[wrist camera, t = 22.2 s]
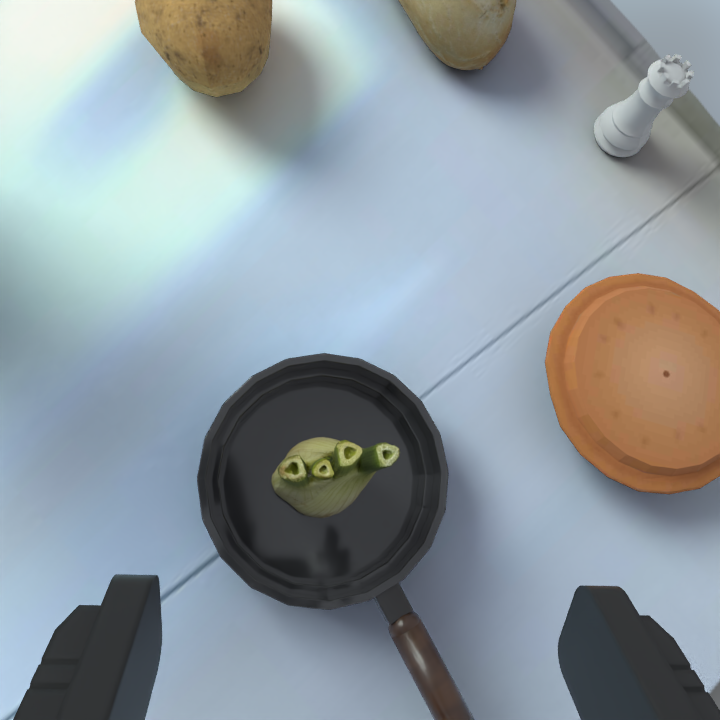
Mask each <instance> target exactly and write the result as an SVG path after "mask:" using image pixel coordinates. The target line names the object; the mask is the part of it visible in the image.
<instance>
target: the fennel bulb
mask: <svg viewBox="0 0 720 720" xmlns="http://www.w3.org/2000/svg"><path fill="white" fill-rule="evenodd" d="M399 454H400V449H399V448H398V447H396V446H395V445H390V444H388V443H387V442H384V443H379V444H376V445H374V446H371V447H368V448H365V449H363V448H361V447H360V446H358V445H356V444H355V443H352V442H349V441H348V440H342V441H339V440H336V439H332V438H326V437H317V438H312V439H308V440H305V441H302V442H300V443H298V444H297V445H296V446H294V447H293V448H292V449H291V450H290V451H289V452H288V453H287V455H286V457H285V459H284V460H283V461H282V462H281V463H280V464H279V466H278V467H277V469H276V470H275V472H274V473H273V475H272V485H273V488H274V491H275V493H276V494H277V495H278V496H280V497H281V498H282V499H283V500H285V501H287V502H288V503H289V504H290V505H292V506H293V507H294V508H295V509H296V510H297V511H298V512H300V513H302V514H304V515H306V516H310V517H316V518H325V517H330V516H332V515H335V514H338V513H340V512H341V511H343V510H344V509H346V508H347V507H348V506H349V505H351V504H352V503H353V502H354V501H355V499H356V498H357V497H358V495H359V494H360V492H361V491H362V490H363V489H364V487H365V486H366V485H367V483H368V482H369V481H370V479H371V478H372V477H373V475H374V474H375V473H376V471H378V470H381V469H384V468H387V467H390V466H392V465H393V464H394V463H395V462H396V461H397V459H398V457H399Z"/></svg>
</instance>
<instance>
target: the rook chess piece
mask: <svg viewBox="0 0 720 720" xmlns="http://www.w3.org/2000/svg"><path fill="white" fill-rule="evenodd" d="M670 58H671V57H670V56H669V55H667V56H665V57H664V58H663V59H662V60H657V61H656V62H654V63H652V64H651V66H650V67H649V69H648V77H646V78H645V79H643V80H642V81H641V82H640V84H639V88H638V90H637V91H636V92H634V93H633V94H632V95H631V96H630V97H629V98H628V99H626V100H623V101H621V102H619V103H615V104H613V105H611V106H610V107H608V108H606V109H605V111H604V112H603V113H602V114H601V115H599V117H598V118H597V120H596V121H595V125H594V135H595V138H596V141H597V143H598V145H599V146H600V147H601V149H602V150H603V151H605V152H606V153H608V154H609V155H613V156H616V157H629V156H632V155H634V154H636V153H638V152H639V151H640V149H641V147H642V146H644V145H645V143H646V142H647V140H648V138H649V137H650V134H651V128H652V124H653V121H654V119H655V118H656V117H657V115H658V114H659V112H660V111H661V110H662V109H663V108H666V107H668V106H670V104H671V103H672V101H673V98H678V97H681V96H683V95H684V94H686V92H687V91H688V89H689V82H690V79H691V78H692V77H693V72H694V71H689V72H688V70H687V69H688V68H689V67H690V66H691V64H690V63H689V62H688V60H687V61H686V62H685V63H684V64H682V63H680V62H679V60H680V59H681V56H680V55H676V54H675V55H674V56H673V57H672V59H670Z"/></svg>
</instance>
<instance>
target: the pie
mask: <svg viewBox="0 0 720 720" xmlns="http://www.w3.org/2000/svg"><path fill="white" fill-rule="evenodd" d="M545 366H546V372H547V378H548V384H549V390H550V395H551V399H552V402H553V405H554V408H555V411H556V415H557V418H558V421H559V424H560V427H561V428H562V430H563V431H564V432H565V434H566V435H567V437H568V438H569V439H570V441H571V442H572V444H573V445H574V446H575V448H576V449H577V451H578V452H579V453H580V455H582V456H583V457H584V458H585V459H586V460H588V461H589V462H590V463H591V464H592V465H594V466H595V467H596V468H597V469H598V470H600V471H601V472H602V473H603V474H604V475H606V476H607V477H608V478H610V479H613V480H615V481H617V482H619V483H621V484H623V485H626V486H628V487H630V488H632V489H634V490H636V491H639V492H650V493H661V494H674V493H679V492H684V491H689V490H695V489H700V488H701V487H703V486H705V485H706V484H708V483H709V482H711V481H713V480H714V479H716V478H717V477H719V476H720V312H719V310H718V309H716V308H715V307H714V306H712V305H711V304H710V303H708V302H707V301H706V300H704V299H703V298H701V297H700V296H699V295H697V294H696V293H695V292H693V291H691V290H689V289H687V288H685V287H683V286H682V285H680V284H678V283H676V282H674V281H672V280H670V279H668V278H665V277H658V276H652V275H645V274H639V273H637V274H629V275H621V276H613V277H608V278H606V279H604V280H601V281H599V282H597V283H595V284H592V285H590V286H588V287H585V288H584V289H583V290H582V291H581V292H580V293H579V294H578V295H577V296H576V297H575V298H574V299H573V300H572V301H571V302H570V303H569V304H568V305H566V306H565V308H564V310H563V311H562V313H561V315H560V317H559V318H558V320H557V322H556V324H555V325H554V327H553V329H552V330H551V332H550V337H549V343H548V348H547V354H546V359H545Z"/></svg>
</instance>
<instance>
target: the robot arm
mask: <svg viewBox="0 0 720 720" xmlns="http://www.w3.org/2000/svg"><path fill="white" fill-rule="evenodd" d="M161 646H162V622H161V604H160V587H159V578H158V576H157V575H114V577H113V578H112V580H111V582H110V584H109V587H108V589H107V592H106V594H105V597H104V599H103V602H102V604H101V606H98V605H79V606H78V607H77V608H76V609H75V610H74V611H73V612H72V613H71V614H70V615H69V616H68V617H67V618H66V619H65V620H64V621H63V622H62V623H61V624H60V625H59V626H58V627H57V628H56V629H55V631H54V633H53V635H52V638H51V640H50V642H49V644H48V646H47V648H46V650H45V653H44V655H43V657H42V661H41V664H40V665H39V666H38V668H37V670H36V672H35V674H34V676H33V678H32V681H31V683H30V688H29V689H27V691H26V693H25V696H24V698H23V700H22V702H21V704H20V706H19V708H18V711H17V713H16V715H15V717H14V719H13V720H145V717H146V713H147V709H148V705H149V701H150V697H151V694H152V690H153V686H154V682H155V678H156V675H157V671H158V666H159V661H160V655H161ZM558 657H559V664H560V668H561V672H562V674H563V677H564V679H565V682H566V684H567V687H568V689H569V691H570V694H571V696H572V699H573V701H574V703H575V706H576V708H577V711H578V713H579V716H580V718H581V720H720V710H719V709H718V707H717V706H716V704H715V702H714V701H713V699H712V698H711V696H710V695H709V693H708V692H705V690H704V685H703V684H702V682H701V681H700V679H699V677H698V676H697V674H696V673H695V671H694V670H691V668H690V663H689V662H688V660H687V659H686V657H685V655H684V654H683V652H682V651H681V649H680V648H679V646H678V644H677V643H676V641H675V640H674V638H673V637H672V636H670V635H669V634H668V633H667V632H666V631H665V630H664V629H663V628H662V627H661V626H660V625H659V624H658V623H656V622H655V621H654V620H653V619H652V618H651V617H650V616H643V615H639V614H638V612H637V610H636V609H635V607H634V605H633V604H632V602H631V600H630V599H629V597H628V595H627V594H626V592H625V591H624V590H623V589H622V588H620V587H618V586H579V587H578V588H577V589H576V591H575V594H574V597H573V600H572V602H571V605H570V608H569V611H568V614H567V617H566V620H565V623H564V626H563V629H562V632H561V635H560V638H559V643H558Z"/></svg>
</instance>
